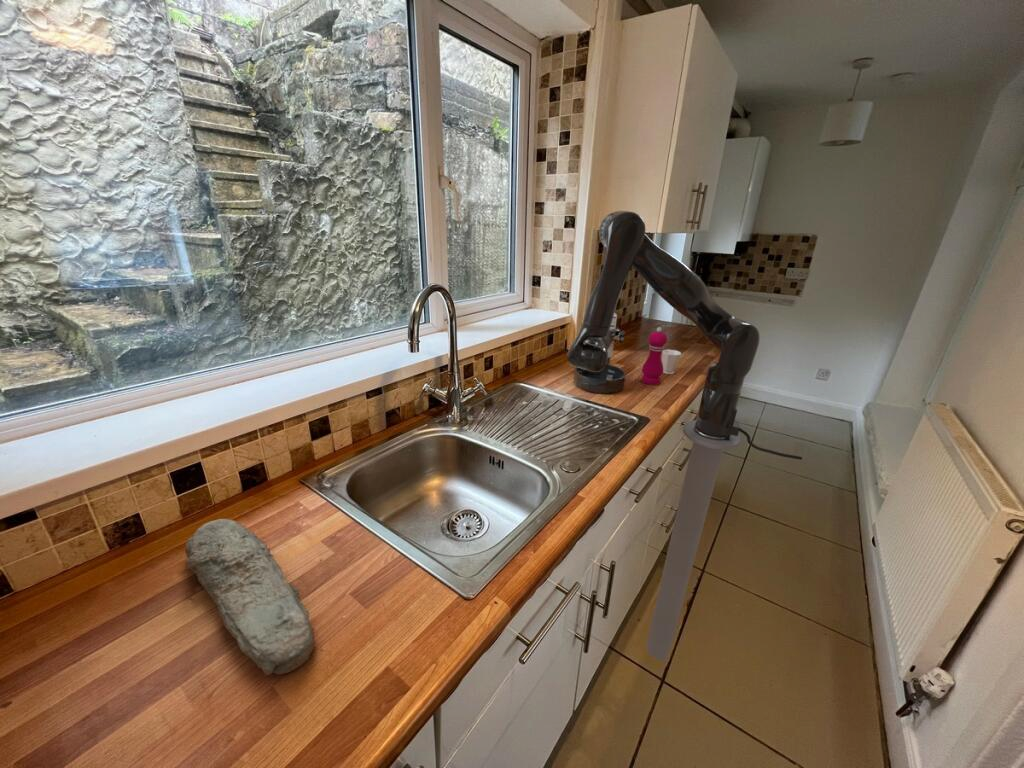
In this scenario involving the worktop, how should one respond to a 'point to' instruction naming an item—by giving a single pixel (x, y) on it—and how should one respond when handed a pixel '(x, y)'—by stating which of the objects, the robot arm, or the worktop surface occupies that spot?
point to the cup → (670, 360)
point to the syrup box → (610, 349)
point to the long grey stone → (251, 595)
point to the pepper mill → (654, 358)
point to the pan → (600, 379)
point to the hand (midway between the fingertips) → (605, 328)
